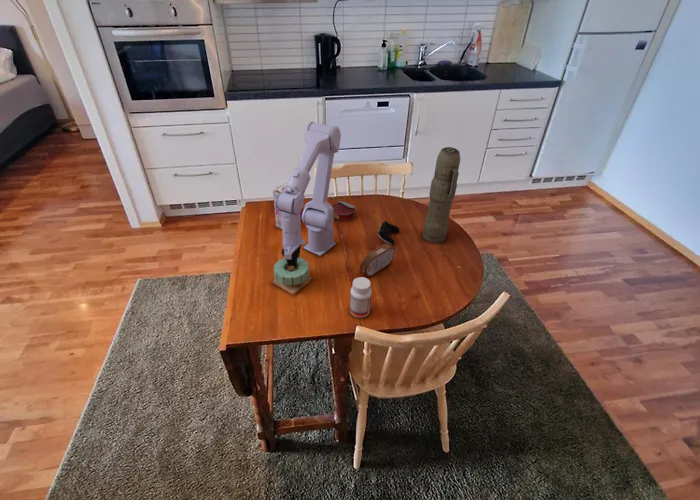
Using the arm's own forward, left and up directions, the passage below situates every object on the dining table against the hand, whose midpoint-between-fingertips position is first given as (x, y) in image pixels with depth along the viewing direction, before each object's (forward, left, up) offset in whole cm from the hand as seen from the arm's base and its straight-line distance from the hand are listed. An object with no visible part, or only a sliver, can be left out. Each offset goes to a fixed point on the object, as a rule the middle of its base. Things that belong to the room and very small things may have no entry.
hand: (293, 263), depth 128 cm
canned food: (-41, -9, -5) cm, 42 cm away
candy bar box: (-23, -22, -5) cm, 32 cm away
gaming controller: (-38, +14, -5) cm, 40 cm away
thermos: (-49, +28, -5) cm, 56 cm away
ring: (+3, +2, -1) cm, 4 cm away
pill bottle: (+1, +27, -5) cm, 27 cm away
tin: (-19, +21, -5) cm, 28 cm away
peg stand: (+3, +2, -4) cm, 6 cm away
